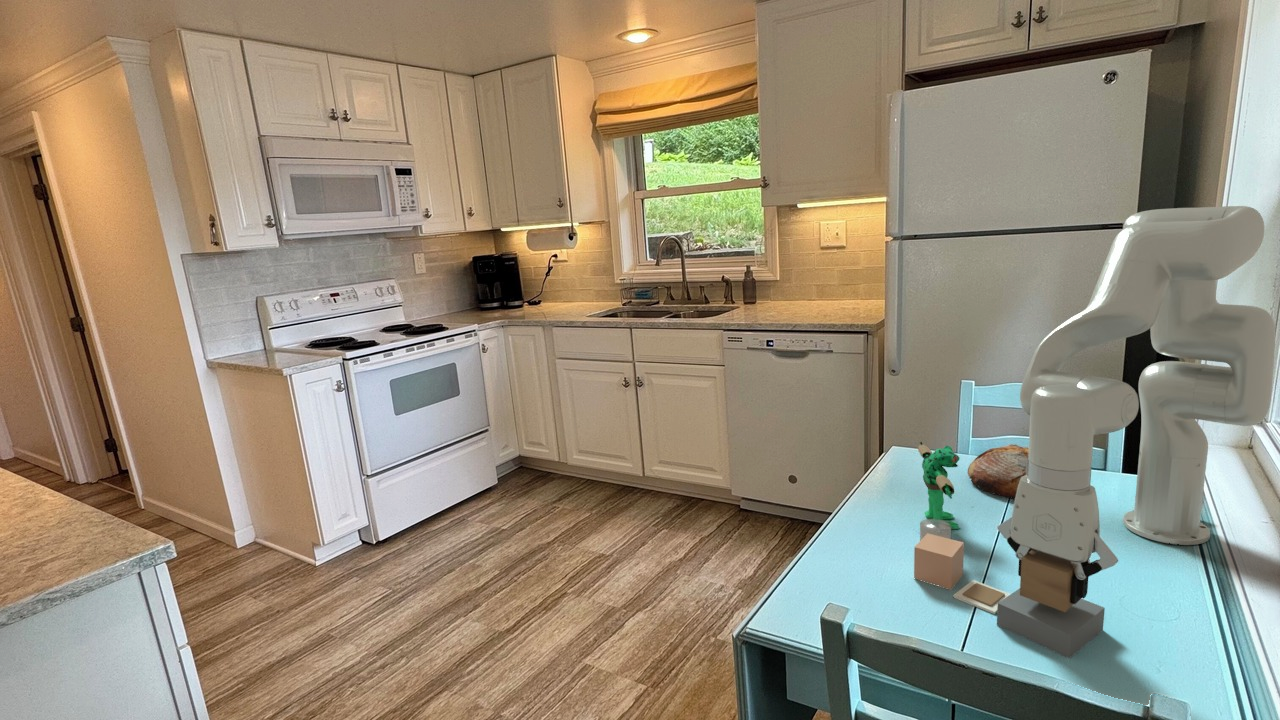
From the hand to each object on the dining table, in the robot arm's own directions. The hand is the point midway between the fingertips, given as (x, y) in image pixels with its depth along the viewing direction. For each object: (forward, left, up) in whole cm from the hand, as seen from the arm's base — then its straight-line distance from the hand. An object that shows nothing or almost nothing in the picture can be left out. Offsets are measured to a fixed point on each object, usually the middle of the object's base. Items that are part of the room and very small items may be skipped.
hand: (1051, 589), depth 97 cm
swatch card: (-1, -10, -6) cm, 12 cm away
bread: (-48, -25, -7) cm, 55 cm away
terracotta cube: (-2, -18, -6) cm, 19 cm away
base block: (0, 0, -7) cm, 7 cm away
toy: (-21, -28, -6) cm, 36 cm away
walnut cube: (0, 0, -1) cm, 1 cm away
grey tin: (-8, -22, -6) cm, 24 cm away
